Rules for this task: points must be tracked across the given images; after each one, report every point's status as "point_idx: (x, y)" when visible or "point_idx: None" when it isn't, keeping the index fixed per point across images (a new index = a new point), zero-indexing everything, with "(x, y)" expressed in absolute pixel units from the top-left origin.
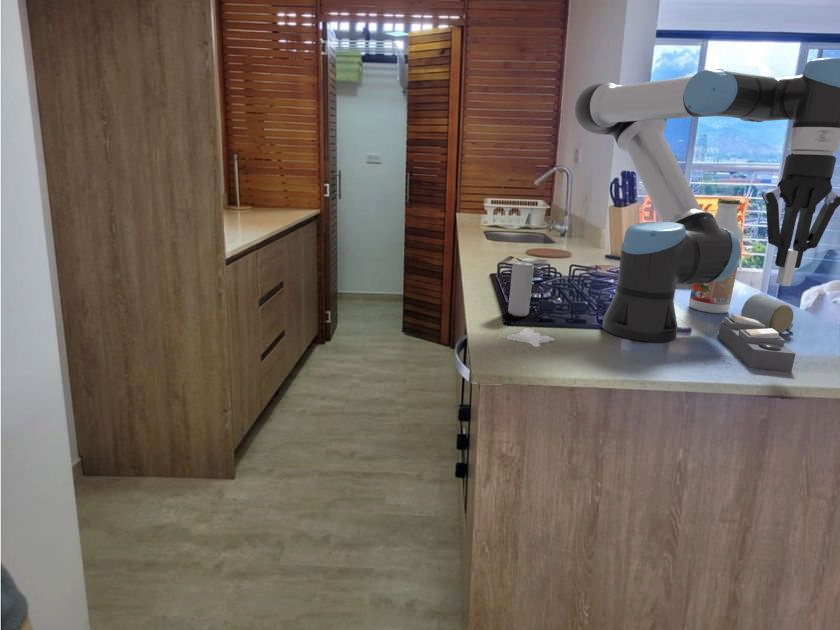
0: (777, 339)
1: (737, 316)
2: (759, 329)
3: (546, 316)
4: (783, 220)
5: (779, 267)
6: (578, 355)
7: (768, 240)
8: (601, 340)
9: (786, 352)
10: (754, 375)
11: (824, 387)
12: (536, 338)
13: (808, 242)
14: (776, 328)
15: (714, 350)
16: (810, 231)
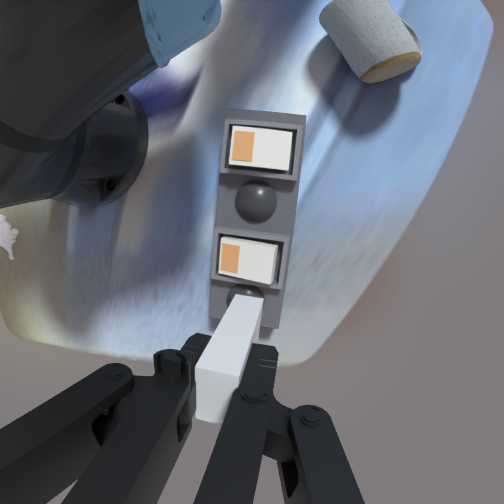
0: (267, 286)
1: (234, 152)
2: (247, 247)
3: None
4: (85, 479)
5: (221, 321)
6: (37, 283)
7: (100, 374)
8: (51, 215)
9: (263, 325)
10: (210, 334)
11: (293, 364)
12: (7, 241)
13: (275, 458)
14: (375, 81)
15: (190, 220)
16: (301, 484)
